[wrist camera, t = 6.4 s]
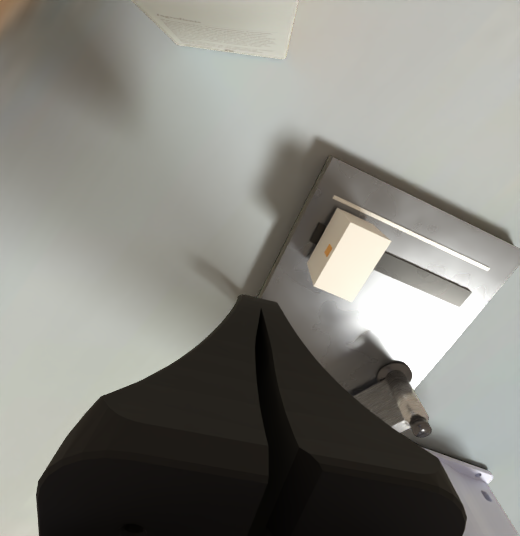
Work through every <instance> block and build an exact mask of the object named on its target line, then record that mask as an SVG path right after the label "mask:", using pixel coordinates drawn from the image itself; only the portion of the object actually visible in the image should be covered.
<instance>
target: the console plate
mask: <svg viewBox="0 0 520 536" xmlns="http://www.w3.org/2000/svg"><path fill="white" fill-rule="evenodd" d="M337 208H339V209H341V210H344V211H346V212H348V213H350V214H352V215H354V216H356V217H359V218H361V219H363V220H365V221H367V222H369V223H372V224H373V225H374V226H375V227H376V228H377V229H379V230H380V231H381V232H382V233H383V234H384V235H385V236H386V237H387V238H389V239H390V240H391V243H390V244H389V246H388V247H387V249H386V250H385V252H384V254H383V255H382V257H381V258H380V260H379V261H378V263H377V264H376V266H375V267H374V269H373V271H372V272H371V274H370V275H369V277H368V278H367V280H366V281H365V283H364V284H363V286H362V288H361V289H360V291H359V292H358V294H357V295H356V297H355V298H354V300H353V301H352V302H350V301H348V300H345V299H343V298H341V297H338V296H336V295H333V294H331V293H329V292H326V291H324V290H321V289H319V288H317V287H314V286H313V282H312V279H311V276H310V272H309V269H308V265H307V262H308V260H309V258H310V256H311V255H312V253H313V251H314V249H315V247H316V246H317V244H318V242H319V240H320V238H321V236H322V235H323V233H324V231H325V229H326V227H327V226H328V224H329V222H330V220H331V218H332V216H333V215H334V213H335V211H336V209H337ZM519 265H520V248H518V247H516V246H514V245H512V244H510V243H508V242H506V241H504V240H501V239H499V238H497V237H495V236H493V235H491V234H489V233H487V232H485V231H483V230H481V229H479V228H477V227H475V226H473V225H471V224H469V223H467V222H465V221H463V220H461V219H459V218H457V217H455V216H453V215H451V214H448V213H446V212H444V211H442V210H440V209H438V208H436V207H434V206H432V205H430V204H428V203H426V202H424V201H422V200H420V199H418V198H416V197H414V196H412V195H410V194H408V193H406V192H404V191H402V190H400V189H398V188H395V187H393V186H391V185H389V184H387V183H385V182H383V181H381V180H379V179H377V178H375V177H373V176H371V175H369V174H367V173H365V172H363V171H361V170H359V169H357V168H355V167H353V166H351V165H349V164H347V163H345V162H342V161H340V160H338V159H336V158H334V157H332V156H330V155H329V157H328V159H327V161H326V163H325V165H324V166H323V168H322V170H321V172H320V174H319V176H318V178H317V180H316V182H315V184H314V186H313V188H312V190H311V192H310V194H309V196H308V198H307V200H306V202H305V204H304V206H303V208H302V210H301V212H300V214H299V216H298V218H297V220H296V222H295V224H294V226H293V228H292V230H291V232H290V234H289V236H288V238H287V240H286V242H285V244H284V246H283V248H282V250H281V252H280V254H279V256H278V258H277V260H276V261H275V263H274V265H273V267H272V269H271V271H270V273H269V275H268V277H267V279H266V281H265V283H264V285H263V287H262V289H261V291H260V293H259V295H258V297H257V298H261V299H265V300H270V301H274V302H277V303H278V305H279V306H280V308H281V310H282V311H283V313H284V315H285V316H286V318H287V319H288V321H289V323H290V324H291V326H292V327H293V329H294V330H295V332H296V333H297V335H298V336H299V338H300V339H301V341H302V342H303V343H304V345H305V346H306V347H307V349H308V350H309V351H310V352H311V354H312V355H313V356H314V357H315V359H316V360H317V361H318V362H319V363H320V364H321V365H322V367H323V368H324V369H325V370H326V371H327V372H328V373H329V374H330V375H331V376H332V377H333V378H334V379H335V380H336V381H337V382H338V383H339V384H340V385H341V386H342V387H343V388H344V389H345V390H346V391H348V392H349V393H350V394H351V395H352V396H355V395H357V394H358V393H360V392H362V391H364V390H366V389H368V388H370V387H371V386H373V385H375V384H377V383H379V382H381V381H383V380H384V379H385V378H386V376H387V375H388V374H389V373H390V372H392V371H401V372H403V373H404V374H405V375H406V377H407V379H408V381H409V382H410V384H411V386H412V388H413V390H414V389H415V388H416V387H417V385H418V384H419V383H420V382H421V381H422V380H423V378H424V377H425V376H426V375H427V374H428V372H429V371H430V370H431V369H432V368H433V367H434V365H435V364H436V363H437V362H438V361H439V359H440V358H441V357H442V356H443V355H444V354H445V352H446V351H447V350H448V349H449V348H450V346H451V345H452V344H453V343H454V342H455V341H456V339H457V338H458V337H459V336H460V335H461V333H462V332H463V331H464V330H465V329H466V328H467V326H468V325H469V324H470V323H471V322H472V321H473V319H474V318H475V317H476V316H477V315H478V313H479V312H480V311H481V310H482V309H483V308H484V306H485V305H486V304H487V303H488V302H489V300H490V299H491V298H492V297H493V296H494V295H495V293H496V292H497V291H498V290H499V289H500V287H501V286H502V285H503V284H504V283H505V282H506V280H507V279H508V278H509V277H510V276H511V274H512V273H513V272H514V271H515V270H516V269H517V267H518V266H519ZM409 425H410V427H411V429H412V431H413V433H414V435H415V436H417V437H426V436H428V435H429V434H430V433H431V427H430V425H429V424H428V422H427V420H426V418H424V417H422V416H417V417H414V418H412V419H411V420H410V422H409Z"/></svg>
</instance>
